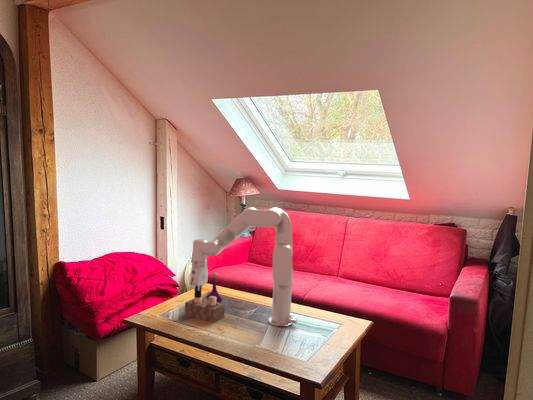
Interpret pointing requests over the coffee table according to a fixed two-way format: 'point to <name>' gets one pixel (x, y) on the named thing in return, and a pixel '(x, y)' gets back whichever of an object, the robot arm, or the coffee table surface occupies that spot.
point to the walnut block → (204, 310)
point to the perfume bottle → (214, 289)
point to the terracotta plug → (198, 300)
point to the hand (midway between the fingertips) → (197, 297)
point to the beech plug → (212, 301)
